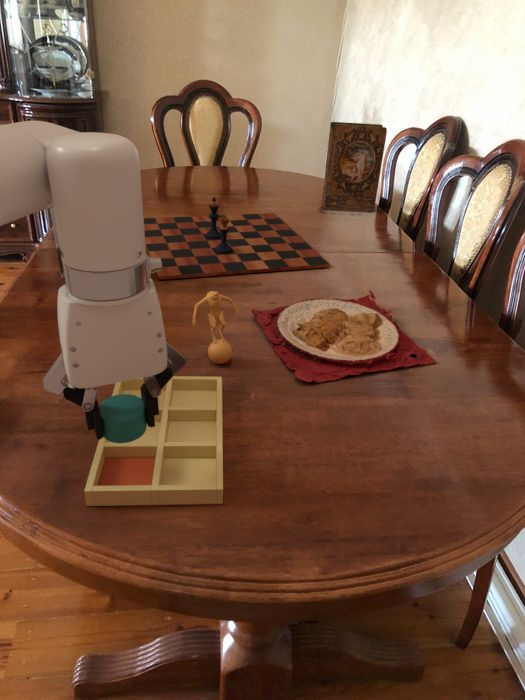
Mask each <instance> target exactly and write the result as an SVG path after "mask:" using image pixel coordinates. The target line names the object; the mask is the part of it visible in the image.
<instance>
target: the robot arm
mask: <svg viewBox="0 0 525 700" xmlns="http://www.w3.org/2000/svg"><path fill="white" fill-rule="evenodd" d="M140 162H141V161H140V154H139V151H138V148H137V147H136V145H135V144H134V142H133V141H131V140H130V139H129V138H127V137H125V136H123V135H119V134H116V133H109V132H97V131H86V132H84V131H83V132H81V131H77V130H74V129H71V128H68V127H65V126H62V125H59V124H57V123H53V122H49V121H44V120H23V121H18V122H12V123H6V124H0V227H2V226H5V225H7V224H10V223H12V222H14V221H17V220H19V219H22V218H26V217H27V216H29V215H32V214H35V213H38V212H39V213H40V212H42V211H45V210H50V208H54V214H55V220H56V227H57V233H58V239H59V246H60V252H61V258H62V265H63V271H64V277H65V279H64V284H63V285H61V286H60V287H59V288H58V291H57V304H56V305H57V309H56V314H57V325H58V336H59V343H60V351H61V352H60V354H59V356H58V357H57V358H56V360H55V361H54V362H53V364H52V366H51V367H50V368H49V369H48V371H47V372H46V374H45V375H44V377H43V378H42V386H43V390H44V391H46V392H49V393H51V394H54V395H57V396H59V397H60V396H61V397H63V398H64V399H65V400H67V401H69V402H71V403H72V404H75V405H77V406H78V407H81V409H82V411H83V412H84V418H85V424H86V427H87V431H94V434H95V438H96V440H97V441H99V439H102V437H103V429H102V422H101V415H100V410H99V406H100V405H99V403H98V399H97V394H98V390H99V387H102V386H107V385H113V384H115V383H119V382H124V381H129V380H134V379H139V378H143V380H144V384H142V387H140V389H141V399H142V400H143V401H144V404H145V410H146V421H147V425H148V427H150V428H151V427H155V417H154V416H155V415H159V406H158V396H159V395H160V394H161V389H162V388H163V387H164V386H165V385H166V384H167V383H168V382H169V380H170V379H171V378H172V377H173V376H174V374H177V372H179V370H181V369H182V368H183V367H184V366H186V364H187V361H188V360H187V358H186V357H185V355H184V353H183V352H182V351H181V350H179V349H178V348H177V347H176V346H175V345H174V344H173V343H171V342H170V341H169V340H168V339H167V338H166V331H165V326H164V320H163V319H164V318H163V313H162V308H161V303H160V299H159V296H158V292H157V289H156V286H155V283H154V281H153V278H152V274H156V272H157V271H162V262H161V259H160V258H153V257H150V256H149V254H147V248H146V245H145V232H144V218H145V217H144V206H143V205H144V203H143V202H144V201H143V189H142V175H141V163H140ZM65 377H67V380H68V381H66V380H65Z"/></svg>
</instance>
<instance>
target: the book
mask: <svg viewBox="0 0 525 700" xmlns="http://www.w3.org/2000/svg"><path fill="white" fill-rule="evenodd" d="M387 133H388V129H387V127H385V126H383V124H381V123H380V124H379V123H362V122H361V123H360V122H345V121H344V122H343V121H331V122H330V125H329V133H328V141H327V150H326V160H325V166H324V167H325V169H324V176H323V177H324V178H323V186H322V195H321V203H320V209H322V210H324V211H336V212H338V211H339V212H355V213H356V212H358V213H359V212H360V213H372V212H373V211H374V210H375V207H376V201H377V194H378V189H379V182H380V178H381V177H380V176H381V171H382V166H383V165H382V164H383V159H384V152H385V146H386V139H387Z"/></svg>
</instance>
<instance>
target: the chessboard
mask: <svg viewBox="0 0 525 700" xmlns="http://www.w3.org/2000/svg"><path fill="white" fill-rule="evenodd" d="M211 200H212V201H211V202H210V204H209V205H208V208H209V209H210V212H211V213H209V214H208V215H194V216H193V215H192V216H171V217H169V216H168V217H167V216H166V217H144V232H145V248H146V251H147V253H148V257H153V258H160V259H161V262H162V271H157V272H155V274H156V276H157V279H158V281H161V280H177V279H188V278H203V277H215V276H230V275H241V274H243V275H244V274H255V273H267V272H268V273H269V272H281V271H294V270H311V269H321V268H330V263H329V262H328V261H327V260H326V259H325V258H323V257H322V256H321V255H320V254H319V253H318V252H317V251H316V250H315V249H313V248H312V247H311V245H309V244H308V242H306V241H305V240H304V239H303V238H302V237H300V236H299V234H297V233H296V232H295V231H294V230H293V229H292V228H291V227H290V226H289V225H287V223H286V222H284V221H283V220H282V218H280V217H279V216H278V215H277V214H276V213H275V212H269V213H268V212H267V213H266V212H265V213H248V214H247V213H245V214H243V213H242V214H219V213H217V212H218V211H219V208H220V206H219V204H218V202H217V200H216V197H212V198H211Z"/></svg>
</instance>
